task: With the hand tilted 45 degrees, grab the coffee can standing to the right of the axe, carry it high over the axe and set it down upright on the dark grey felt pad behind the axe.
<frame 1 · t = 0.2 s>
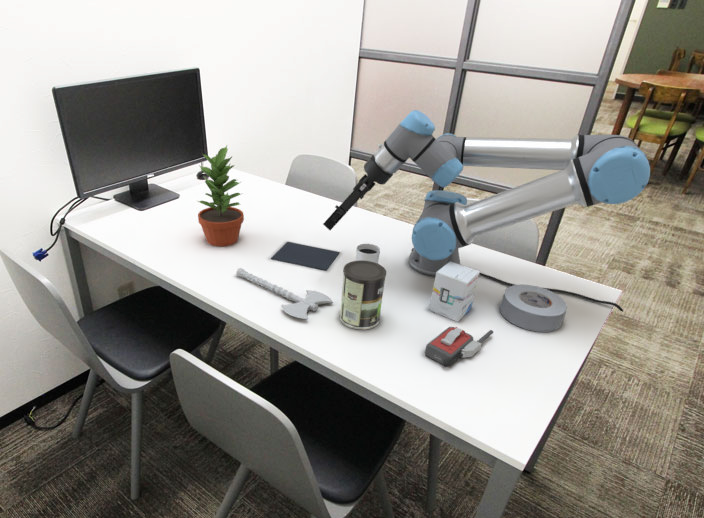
hand: (334, 218, 143), 15 cm above the table, tool tilted 35°, fingers open, 13 cm apart
white coffee cup: (364, 280, 144), on the table
walkie-talkie: (458, 347, 118), on the table
axe: (277, 294, 136), on the table
coffee can: (359, 319, 127), on the table
potted plant: (222, 240, 163), on the table
tape roll: (529, 315, 131), on the table
ink box: (449, 310, 132), on the table
felt pad: (305, 256, 155), on the table
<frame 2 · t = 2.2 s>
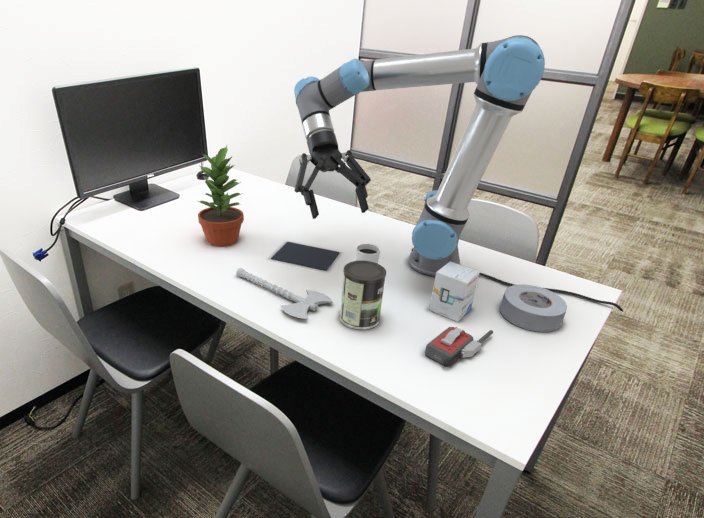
hand: (341, 213, 123), 24 cm above the table, tool tilted 45°, fingers open, 13 cm apart
nothing on the table moved.
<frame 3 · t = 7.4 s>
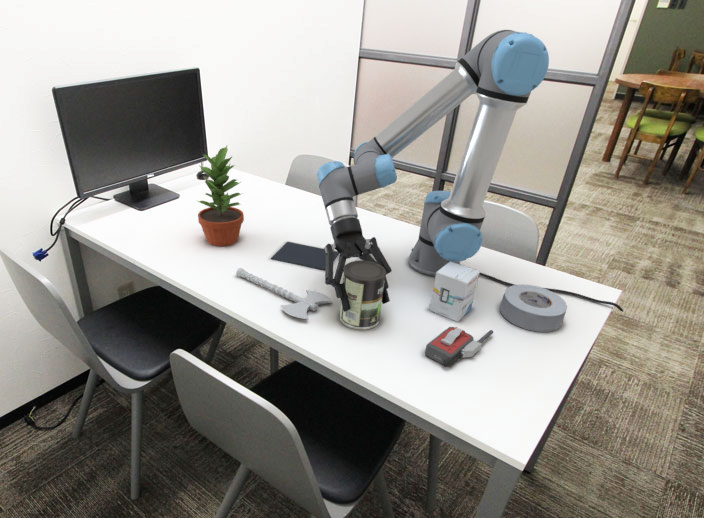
hand: (367, 306, 121), 5 cm above the table, tool tilted 45°, fingers closed on coffee can, 10 cm apart
coffee can: (359, 319, 127), on the table, touching gripper
everything else where it was.
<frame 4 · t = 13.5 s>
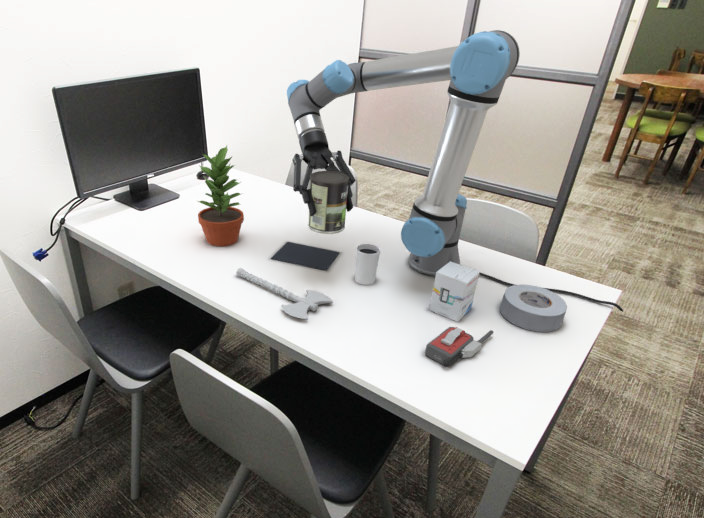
hand: (332, 211, 131), 21 cm above the table, tool tilted 45°, fingers closed on coffee can, 10 cm apart
coffee can: (326, 227, 137), point 15 cm above the table, touching gripper
everything else where it was.
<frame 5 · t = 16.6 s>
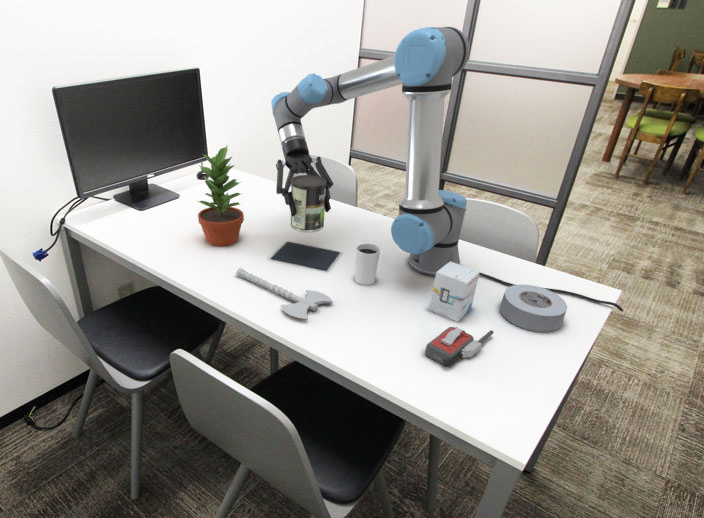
hand: (311, 212, 145), 16 cm above the table, tool tilted 45°, fingers closed on coffee can, 10 cm apart
coffee can: (306, 226, 150), point 10 cm above the table, touching gripper
everything else where it was.
when the fingers open (6 cm above the table, at t = 19.8 s): coffee can stays where it is, resting on felt pad.
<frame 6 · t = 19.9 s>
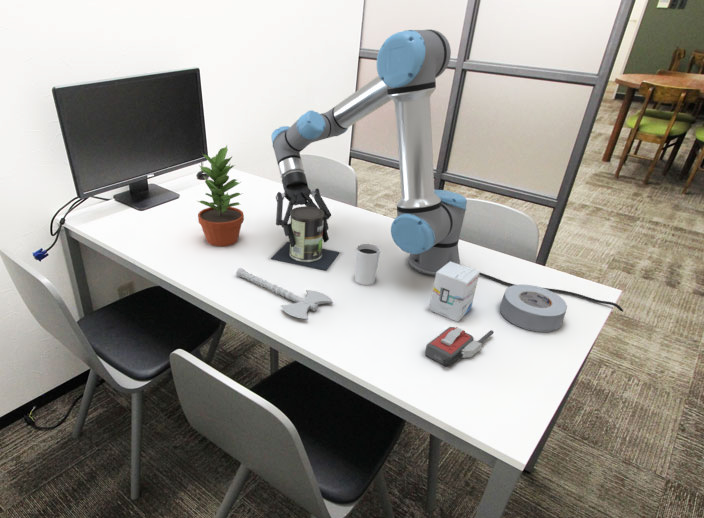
hand: (310, 243, 150), 6 cm above the table, tool tilted 45°, fingers open, 10 cm apart
coffee can: (305, 255, 155), resting on felt pad
everything else where it was.
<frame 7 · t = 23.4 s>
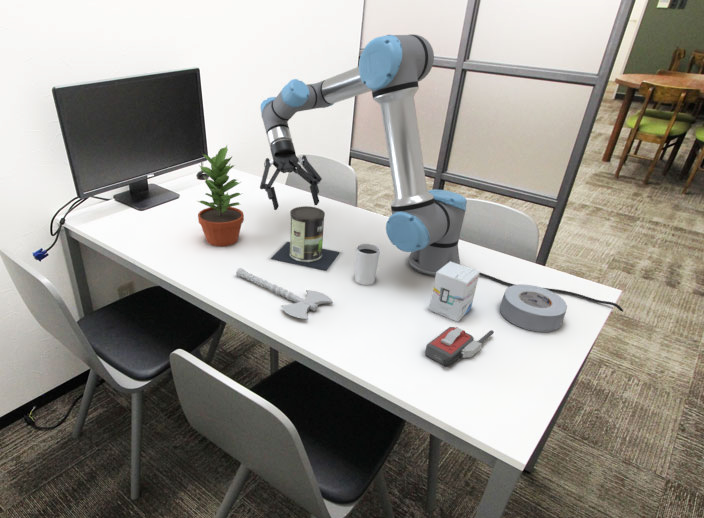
hand: (297, 205, 155), 13 cm above the table, tool tilted 45°, fingers open, 13 cm apart
nothing on the table moved.
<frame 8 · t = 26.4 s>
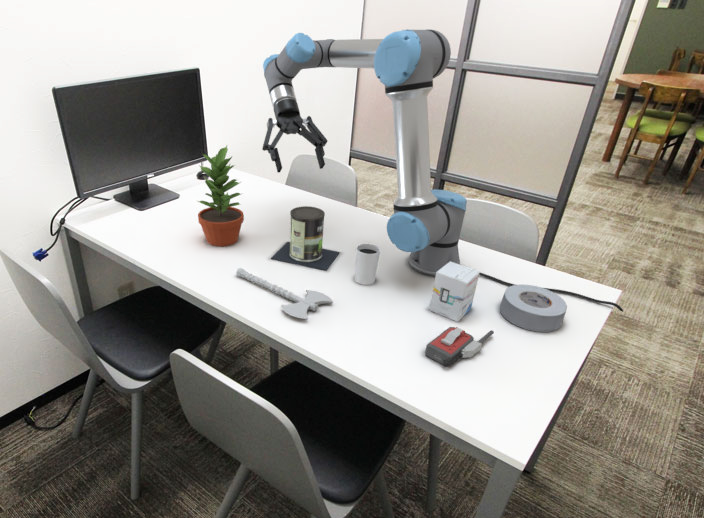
hand: (301, 168, 147), 26 cm above the table, tool tilted 45°, fingers open, 13 cm apart
nothing on the table moved.
at the end: coffee can inside the target area (0.1 cm from its centre), resting on felt pad; coffee can tilted 0°; the gripper is holding nothing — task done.
